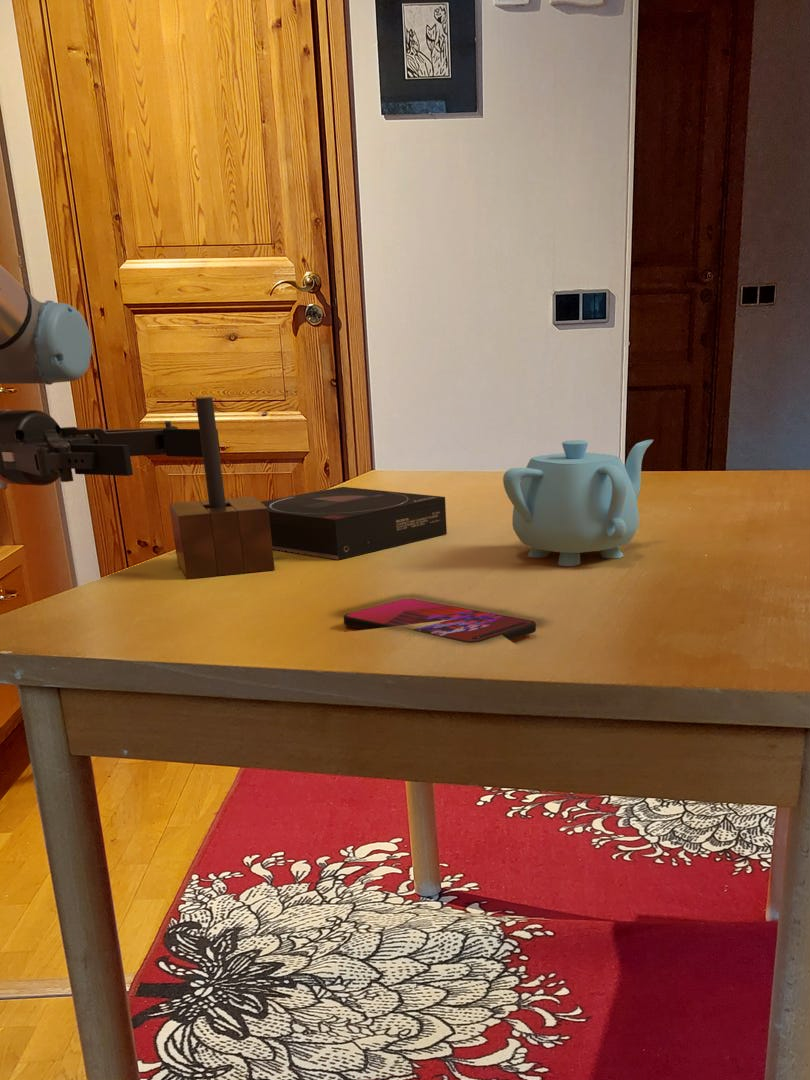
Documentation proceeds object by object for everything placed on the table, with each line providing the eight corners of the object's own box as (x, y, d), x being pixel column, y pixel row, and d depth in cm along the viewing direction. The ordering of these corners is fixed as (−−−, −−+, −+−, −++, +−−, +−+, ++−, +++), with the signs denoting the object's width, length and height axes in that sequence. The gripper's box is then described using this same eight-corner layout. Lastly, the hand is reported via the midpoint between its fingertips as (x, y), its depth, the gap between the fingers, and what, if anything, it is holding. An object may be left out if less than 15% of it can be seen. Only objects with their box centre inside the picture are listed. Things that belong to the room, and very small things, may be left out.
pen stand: (186, 579, 113) (178, 515, 111) (177, 563, 121) (169, 503, 118) (274, 570, 116) (268, 508, 113) (260, 554, 123) (253, 496, 121)
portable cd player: (342, 520, 141) (339, 486, 139) (446, 533, 130) (445, 496, 129) (233, 543, 130) (228, 506, 128) (338, 559, 119) (335, 519, 118)
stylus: (218, 568, 117) (196, 398, 111) (216, 565, 119) (194, 397, 112) (234, 567, 118) (213, 397, 111) (232, 564, 119) (211, 396, 112)
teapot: (497, 571, 114) (493, 451, 109) (533, 536, 126) (532, 427, 121) (625, 577, 111) (627, 453, 105) (650, 540, 123) (654, 428, 117)
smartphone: (407, 597, 99) (541, 621, 90) (408, 607, 100) (541, 632, 90) (337, 615, 94) (472, 643, 85) (338, 626, 95) (472, 655, 85)
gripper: (103, 468, 136) (253, 473, 127) (-72, 502, 116) (93, 511, 107) (91, 399, 133) (245, 399, 124) (-90, 422, 112) (78, 424, 104)
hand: (175, 451), depth 115 cm, fingers open, 13 cm apart
